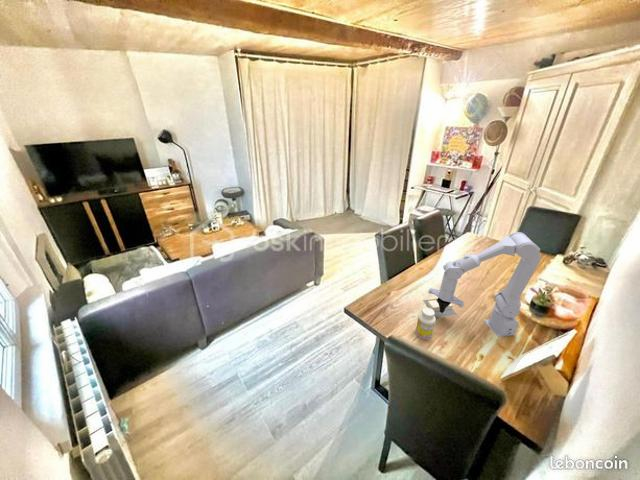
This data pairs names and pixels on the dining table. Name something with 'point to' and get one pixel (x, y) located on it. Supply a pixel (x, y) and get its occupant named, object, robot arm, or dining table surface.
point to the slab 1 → (433, 305)
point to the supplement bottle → (426, 323)
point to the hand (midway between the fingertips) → (441, 311)
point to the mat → (438, 313)
